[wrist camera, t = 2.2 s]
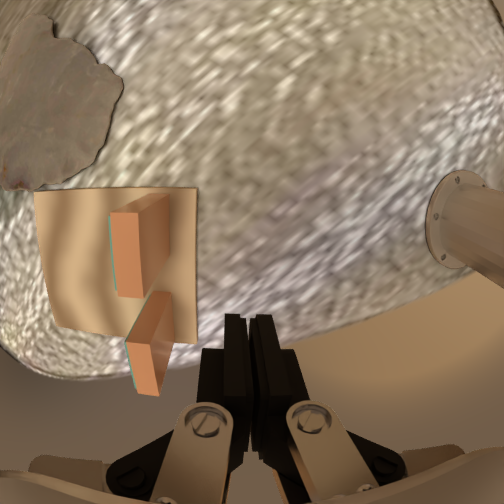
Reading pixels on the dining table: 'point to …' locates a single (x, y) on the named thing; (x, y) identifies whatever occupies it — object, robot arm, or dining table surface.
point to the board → (100, 264)
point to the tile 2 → (151, 343)
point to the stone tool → (51, 107)
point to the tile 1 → (139, 243)
